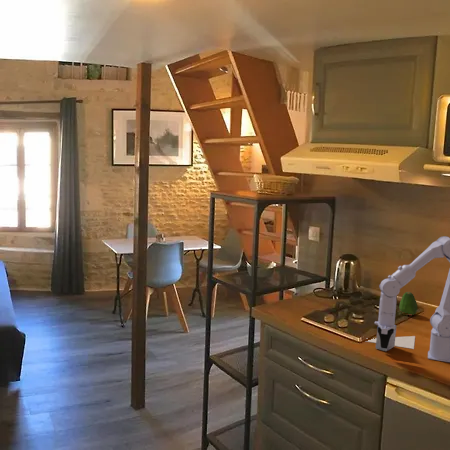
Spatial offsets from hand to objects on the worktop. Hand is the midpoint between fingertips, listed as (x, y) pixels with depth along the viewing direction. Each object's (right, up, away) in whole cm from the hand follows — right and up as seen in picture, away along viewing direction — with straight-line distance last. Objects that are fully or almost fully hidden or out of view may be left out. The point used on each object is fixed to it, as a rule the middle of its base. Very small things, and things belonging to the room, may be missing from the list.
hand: (384, 347), depth 186 cm
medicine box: (+2, -2, +6) cm, 6 cm away
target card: (+8, 0, +19) cm, 21 cm away
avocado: (+27, +2, +50) cm, 57 cm away
